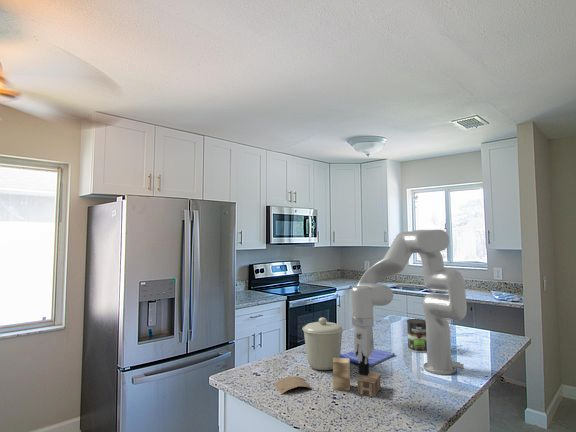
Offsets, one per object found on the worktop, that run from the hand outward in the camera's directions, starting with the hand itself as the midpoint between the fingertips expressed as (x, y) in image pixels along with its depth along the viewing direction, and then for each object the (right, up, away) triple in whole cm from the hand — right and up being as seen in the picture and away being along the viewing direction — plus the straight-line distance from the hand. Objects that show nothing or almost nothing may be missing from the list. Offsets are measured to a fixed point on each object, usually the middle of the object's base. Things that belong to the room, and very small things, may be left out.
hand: (364, 374), depth 127 cm
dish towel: (+10, -11, +42) cm, 45 cm away
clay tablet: (-25, -10, +10) cm, 28 cm away
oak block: (-6, -9, +9) cm, 14 cm away
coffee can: (+38, -11, +53) cm, 66 cm away
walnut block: (+1, -6, +1) cm, 6 cm away
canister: (-11, -10, +31) cm, 35 cm away
